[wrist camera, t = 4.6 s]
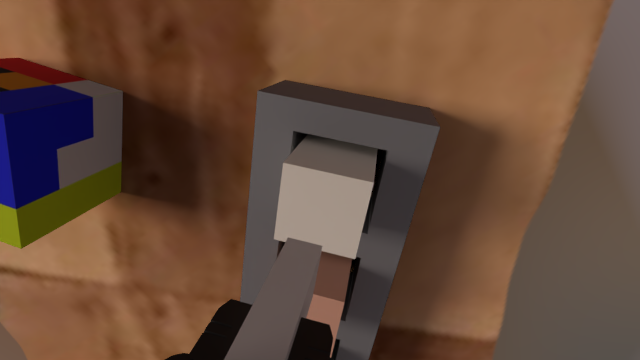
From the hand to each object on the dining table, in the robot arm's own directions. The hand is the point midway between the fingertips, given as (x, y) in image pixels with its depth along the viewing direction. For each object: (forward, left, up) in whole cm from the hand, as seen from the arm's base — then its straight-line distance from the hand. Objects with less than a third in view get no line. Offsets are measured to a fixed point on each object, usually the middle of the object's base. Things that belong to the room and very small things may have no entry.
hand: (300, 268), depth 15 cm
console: (+8, 0, -15) cm, 16 cm away
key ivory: (0, 0, -12) cm, 12 cm away
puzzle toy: (+3, -25, -15) cm, 29 cm away
